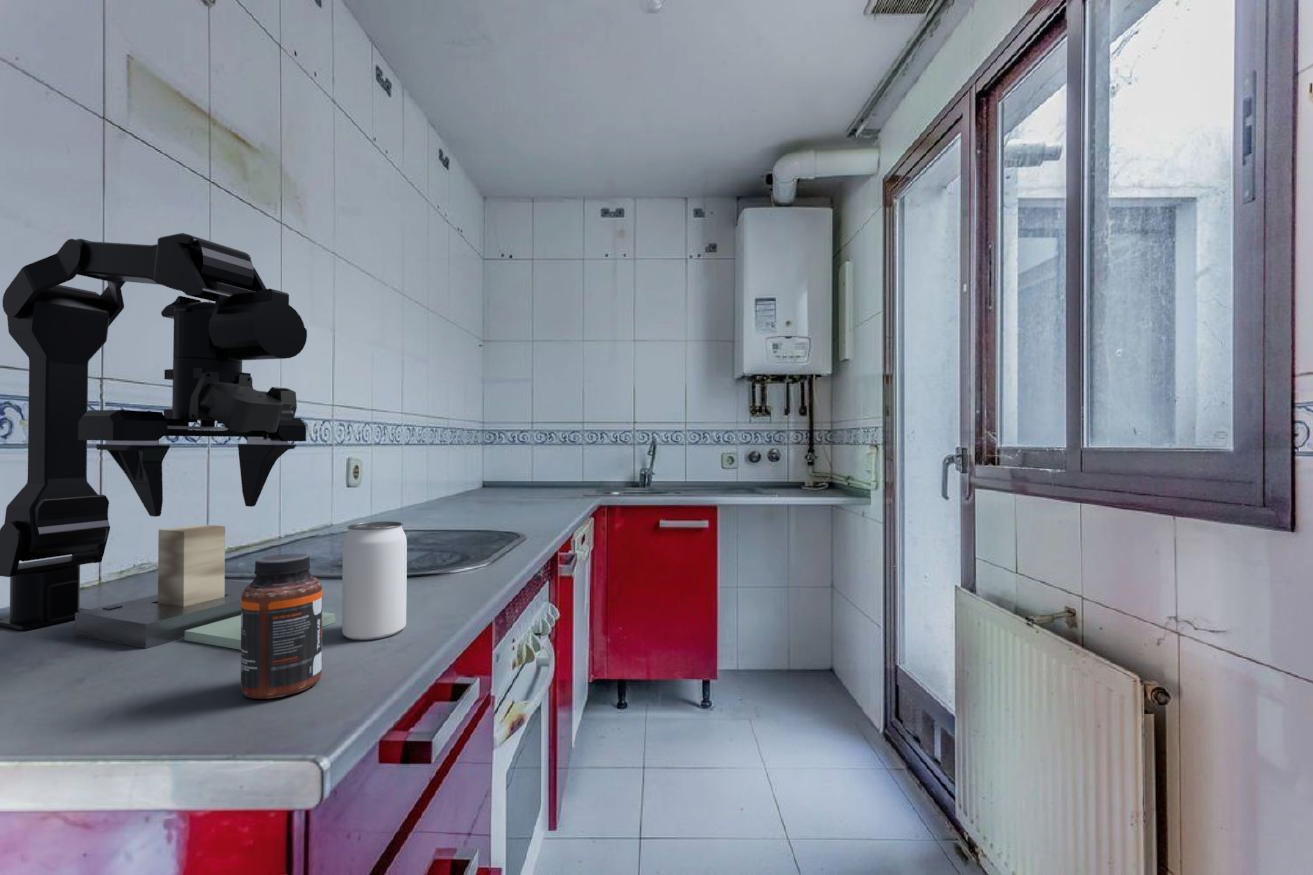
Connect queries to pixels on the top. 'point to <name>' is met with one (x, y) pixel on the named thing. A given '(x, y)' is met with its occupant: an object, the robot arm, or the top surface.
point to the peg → (191, 564)
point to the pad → (230, 632)
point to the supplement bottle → (281, 628)
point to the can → (374, 580)
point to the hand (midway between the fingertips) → (206, 510)
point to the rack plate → (156, 618)
